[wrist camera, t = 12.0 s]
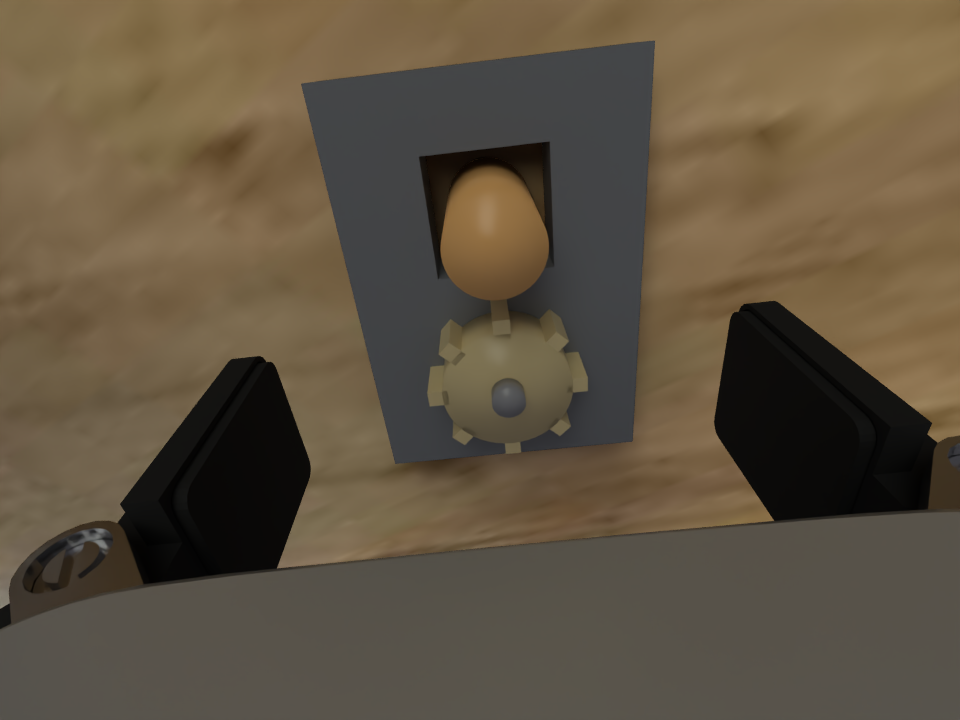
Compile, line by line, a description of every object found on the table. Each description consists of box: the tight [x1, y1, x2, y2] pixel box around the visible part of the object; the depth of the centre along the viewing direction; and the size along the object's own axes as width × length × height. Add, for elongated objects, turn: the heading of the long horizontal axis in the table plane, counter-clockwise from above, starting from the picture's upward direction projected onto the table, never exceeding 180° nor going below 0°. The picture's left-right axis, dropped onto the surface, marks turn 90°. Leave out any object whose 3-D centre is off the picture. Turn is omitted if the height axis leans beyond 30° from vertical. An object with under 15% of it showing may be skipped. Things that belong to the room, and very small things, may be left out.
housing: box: [301, 41, 655, 464], centre depth 25 cm, size 20×14×6 cm
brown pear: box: [440, 157, 549, 301], centre depth 22 cm, size 4×4×8 cm
